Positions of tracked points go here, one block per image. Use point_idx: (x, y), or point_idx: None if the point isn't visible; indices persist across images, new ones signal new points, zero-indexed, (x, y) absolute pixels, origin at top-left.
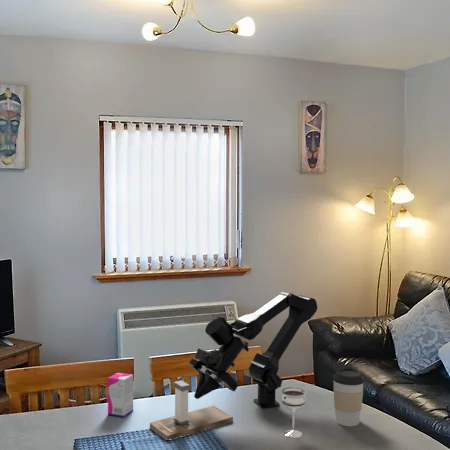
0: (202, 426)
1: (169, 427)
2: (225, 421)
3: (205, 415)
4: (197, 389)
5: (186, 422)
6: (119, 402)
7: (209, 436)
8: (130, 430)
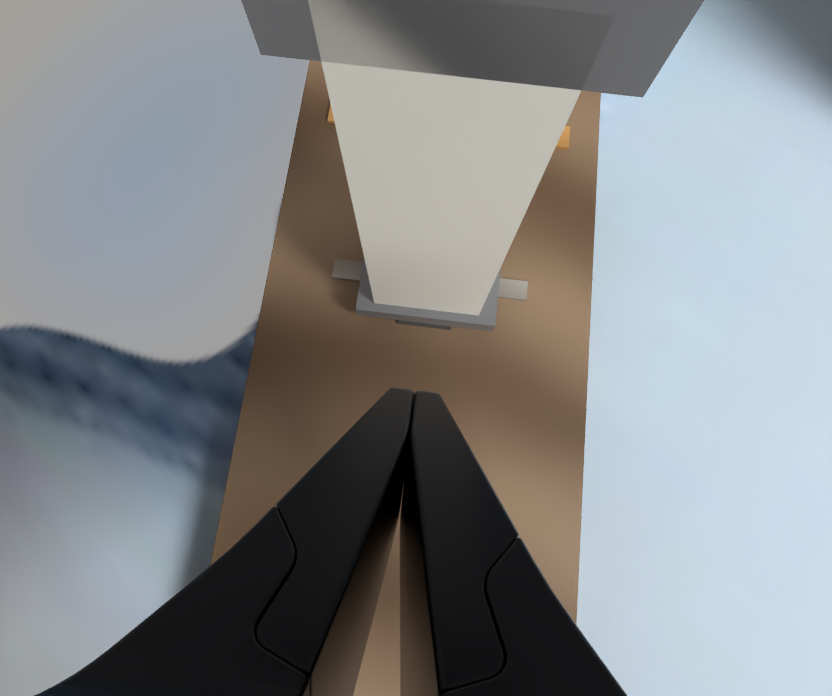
0: (249, 386)
1: None
2: None
3: None
4: (435, 464)
5: (360, 277)
6: None
7: (142, 368)
8: None
